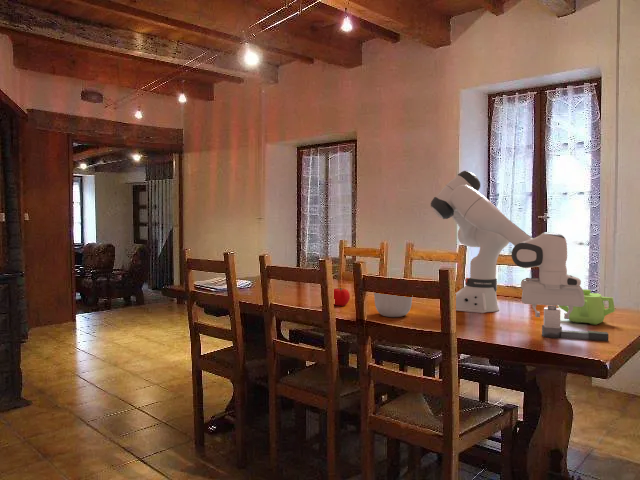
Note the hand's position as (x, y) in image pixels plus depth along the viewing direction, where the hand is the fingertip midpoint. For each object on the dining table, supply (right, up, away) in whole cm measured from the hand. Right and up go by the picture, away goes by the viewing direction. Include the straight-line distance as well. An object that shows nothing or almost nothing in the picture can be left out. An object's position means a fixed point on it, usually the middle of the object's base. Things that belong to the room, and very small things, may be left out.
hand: (551, 317), depth 186 cm
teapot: (+24, -6, +24) cm, 34 cm away
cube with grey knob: (0, -3, 0) cm, 3 cm away
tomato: (-72, -4, +64) cm, 97 cm away
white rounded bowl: (-51, -5, +39) cm, 64 cm away
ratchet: (+7, -7, -2) cm, 10 cm away
